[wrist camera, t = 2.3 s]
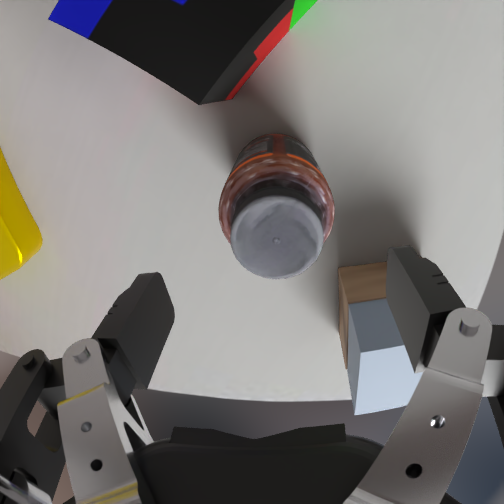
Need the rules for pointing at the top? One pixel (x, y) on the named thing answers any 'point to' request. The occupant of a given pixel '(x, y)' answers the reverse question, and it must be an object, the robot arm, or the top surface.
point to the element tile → (15, 225)
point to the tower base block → (358, 292)
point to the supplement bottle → (276, 207)
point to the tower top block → (377, 359)
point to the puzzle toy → (186, 37)
